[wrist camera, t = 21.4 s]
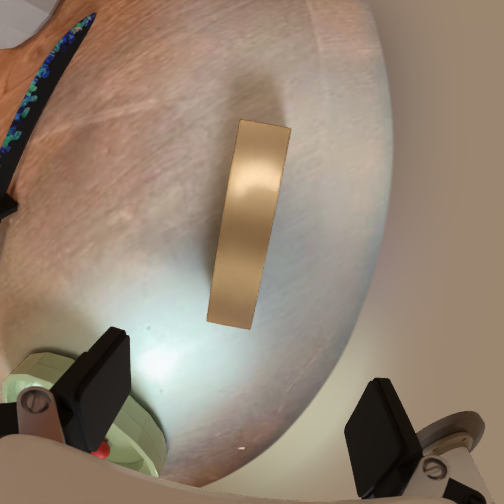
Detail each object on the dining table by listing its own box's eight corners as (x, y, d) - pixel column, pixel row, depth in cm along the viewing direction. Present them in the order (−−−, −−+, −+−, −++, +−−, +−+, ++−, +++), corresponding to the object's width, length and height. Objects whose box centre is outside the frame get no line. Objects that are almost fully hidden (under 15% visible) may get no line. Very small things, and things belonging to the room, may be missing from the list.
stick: (243, 125, 19) (239, 118, 16) (287, 133, 19) (291, 128, 16) (213, 302, 23) (206, 321, 20) (252, 310, 23) (250, 330, 20)
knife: (-11, 305, 23) (-36, 319, 19) (-26, 288, 23) (-50, 300, 18) (126, 35, 19) (107, 10, 14) (105, 24, 18) (84, 2, 14)
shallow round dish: (205, 453, 28) (198, 487, 23) (105, 473, 32) (95, 496, 27) (70, 319, 24) (41, 346, 19) (5, 377, 28) (-14, 396, 23)
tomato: (107, 446, 26) (94, 430, 27) (92, 459, 24) (80, 443, 26) (118, 452, 28) (105, 438, 29) (103, 465, 26) (91, 450, 27)
